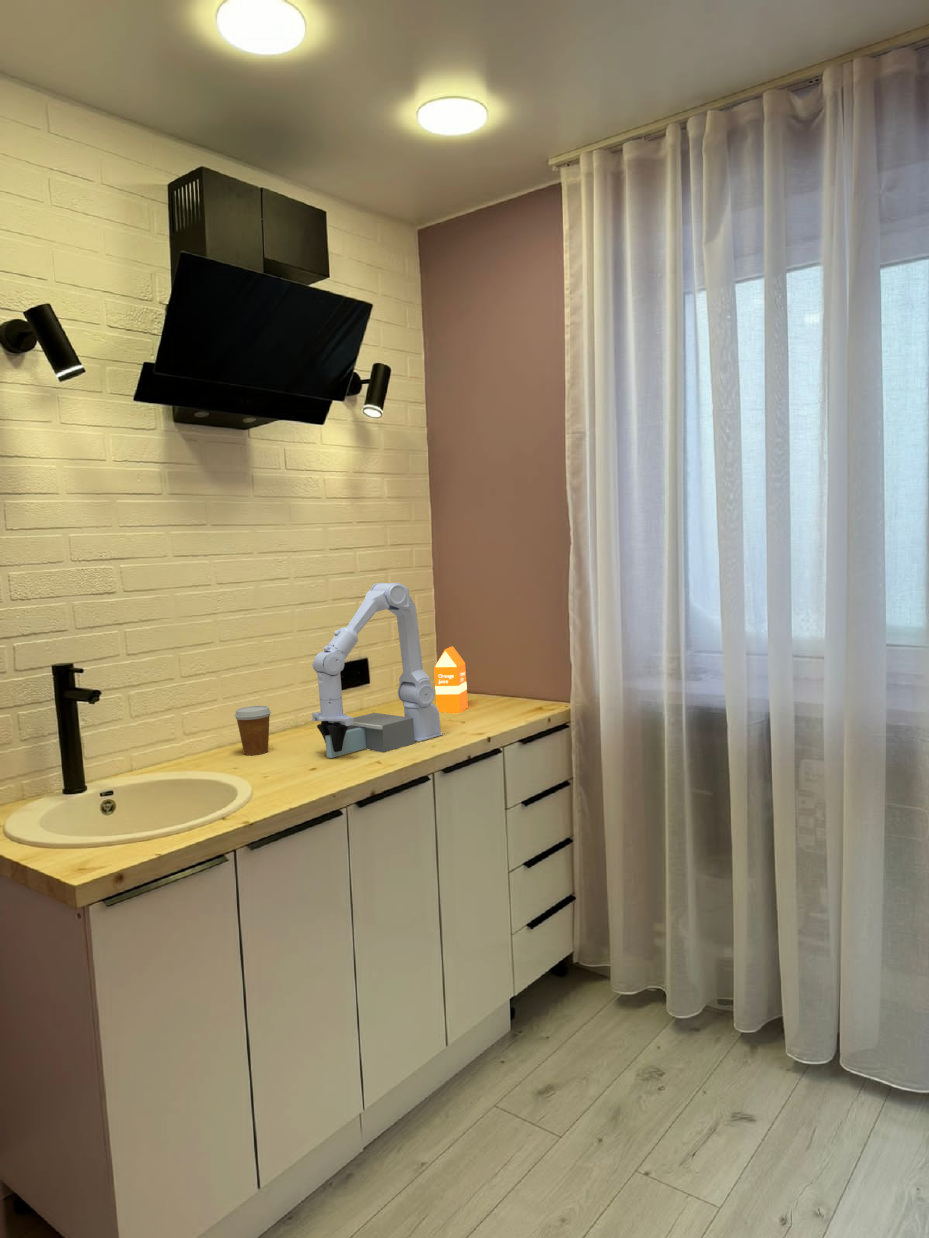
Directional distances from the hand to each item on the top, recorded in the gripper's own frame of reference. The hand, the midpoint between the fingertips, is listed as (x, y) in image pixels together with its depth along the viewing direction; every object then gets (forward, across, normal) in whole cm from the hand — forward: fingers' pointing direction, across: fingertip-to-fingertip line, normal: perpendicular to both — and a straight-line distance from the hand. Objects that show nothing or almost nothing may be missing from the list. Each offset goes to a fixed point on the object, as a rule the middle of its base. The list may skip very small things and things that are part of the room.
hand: (334, 750), depth 224 cm
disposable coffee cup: (+2, -24, -8) cm, 25 cm away
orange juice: (+2, -15, +59) cm, 61 cm away
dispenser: (+2, 0, +15) cm, 15 cm away
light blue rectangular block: (+1, 0, +5) cm, 5 cm away
